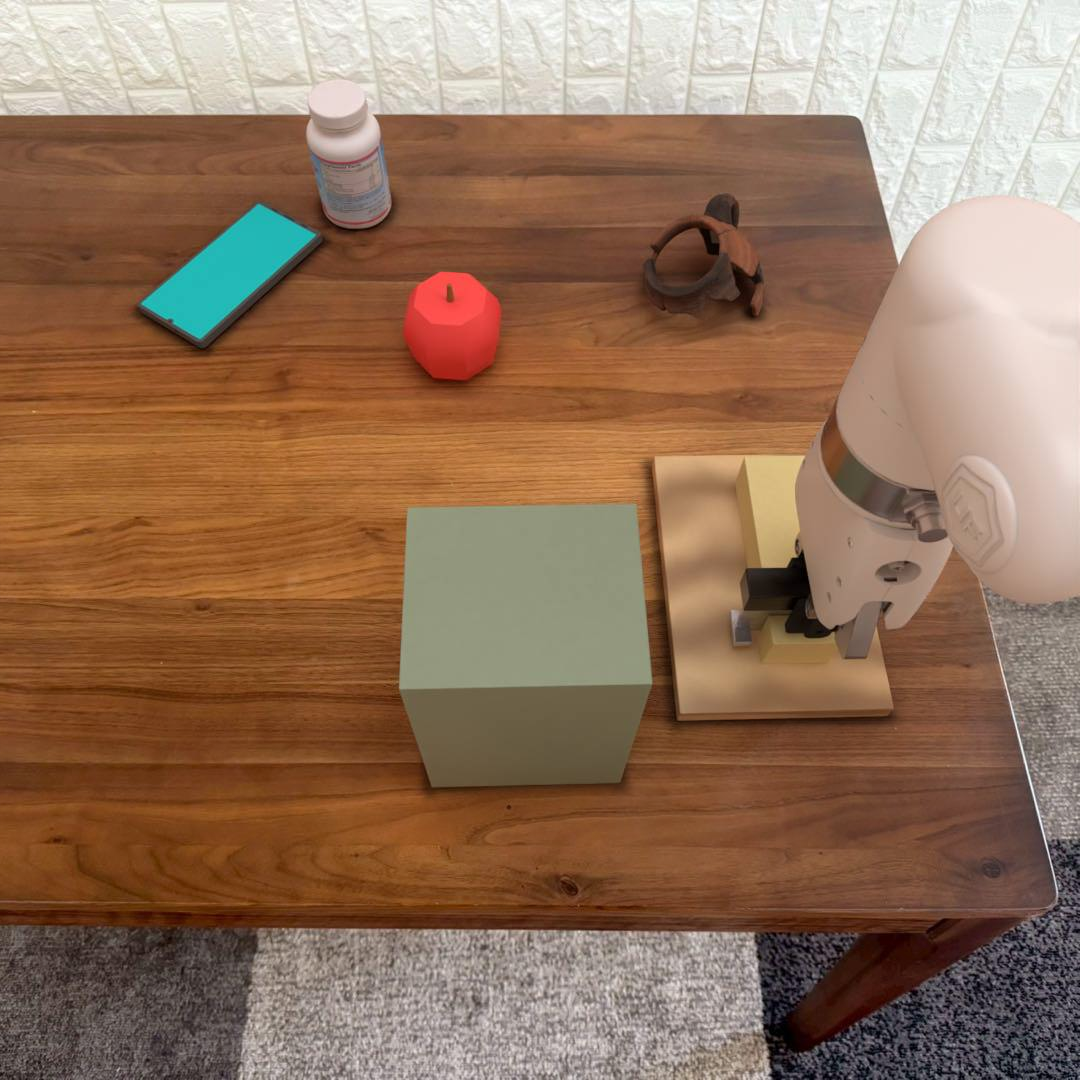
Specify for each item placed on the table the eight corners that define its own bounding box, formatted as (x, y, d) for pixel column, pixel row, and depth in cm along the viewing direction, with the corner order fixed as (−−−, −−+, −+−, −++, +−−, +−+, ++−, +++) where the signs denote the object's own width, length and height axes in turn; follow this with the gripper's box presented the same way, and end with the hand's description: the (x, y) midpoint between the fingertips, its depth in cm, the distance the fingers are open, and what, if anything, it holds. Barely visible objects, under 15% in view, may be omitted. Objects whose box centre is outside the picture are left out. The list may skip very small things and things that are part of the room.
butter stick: (815, 591, 66) (829, 568, 63) (750, 593, 66) (761, 570, 63) (795, 481, 71) (807, 455, 68) (734, 482, 70) (744, 456, 67)
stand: (620, 783, 61) (652, 683, 45) (431, 787, 61) (398, 689, 45) (610, 638, 66) (636, 503, 50) (435, 641, 66) (407, 506, 50)
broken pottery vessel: (765, 349, 79) (733, 298, 72) (659, 355, 84) (620, 308, 77) (784, 221, 82) (755, 161, 75) (681, 234, 87) (645, 179, 80)
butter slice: (828, 663, 64) (843, 642, 61) (760, 664, 64) (773, 644, 61) (823, 635, 65) (838, 613, 62) (756, 636, 65) (768, 615, 61)
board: (887, 716, 64) (894, 709, 62) (676, 721, 63) (679, 713, 62) (834, 463, 73) (839, 452, 72) (651, 466, 73) (653, 455, 72)
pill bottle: (334, 180, 87) (310, 68, 78) (399, 189, 87) (383, 77, 77) (315, 227, 85) (287, 116, 75) (382, 237, 84) (362, 127, 74)
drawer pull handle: (863, 644, 63) (900, 598, 57) (728, 646, 63) (750, 600, 57) (857, 610, 65) (892, 562, 58) (723, 613, 64) (745, 564, 58)
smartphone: (322, 232, 83) (199, 343, 77) (324, 240, 84) (203, 350, 78) (259, 198, 85) (134, 303, 79) (261, 206, 86) (138, 311, 79)
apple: (388, 372, 77) (374, 302, 70) (438, 305, 80) (429, 232, 73) (474, 409, 75) (469, 341, 68) (522, 339, 79) (521, 268, 72)
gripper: (1030, 596, 41) (888, 729, 57) (945, 314, 49) (841, 501, 65) (857, 599, 41) (764, 731, 57) (799, 316, 49) (731, 503, 65)
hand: (806, 608), depth 61 cm, fingers closed on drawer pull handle, 2 cm apart
